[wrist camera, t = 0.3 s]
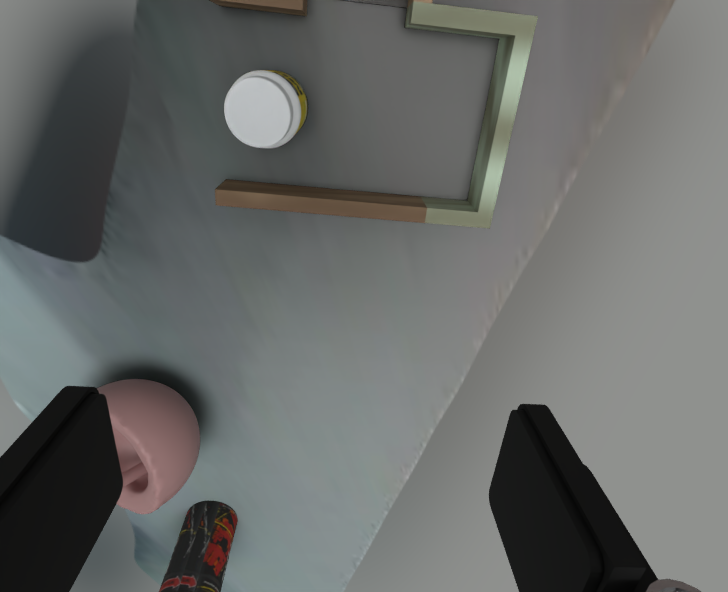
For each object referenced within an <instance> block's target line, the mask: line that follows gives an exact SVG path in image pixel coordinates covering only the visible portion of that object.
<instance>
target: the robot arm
mask: <svg viewBox="0 0 728 592" xmlns="http://www.w3.org/2000/svg"><path fill="white" fill-rule="evenodd" d="M122 488H123V477H122V472H121V468H120V463H119V458H118V453H117V448H116V443H115V438H114V433H113V428H112V423H111V419H110V414H109V409H108V404H107V399H106V396H105V395H104V394H99V391H98V390H97V388H95V387H81V386H67V387H64V388H63V389H62V390H61V391H60V392H59V393H58V394H57V395H56V397H55V398H54V399H53V400H52V401H51V402H50V403H49V404H48V405H47V407H46V408H45V409H44V410H43V411H42V412H41V413H40V414H39V415H38V417H37V418H36V419H35V420H34V421H33V422H32V423H31V424H30V425H29V426H28V428H27V429H26V430H25V431H24V432H23V433H22V434H21V435H20V436H19V438H18V439H17V440H16V441H15V442H14V443H13V444H12V445H11V446H10V448H9V449H8V450H7V451H6V452H5V453H4V454H3V455H2V456H1V457H0V592H69V591H70V589H71V587H72V585H73V584H74V582H75V580H76V578H77V576H78V574H79V573H80V571H81V569H82V567H83V565H84V563H85V561H86V559H87V558H88V556H89V554H90V552H91V550H92V548H93V546H94V544H95V543H96V541H97V539H98V537H99V535H100V533H101V531H102V530H103V528H104V526H105V524H106V522H107V520H108V518H109V517H110V515H111V513H112V511H113V509H114V507H115V505H116V503H117V502H118V500H119V498H120V495H121V492H122ZM489 501H490V506H491V509H492V512H493V515H494V518H495V521H496V524H497V527H498V530H499V533H500V536H501V539H502V542H503V545H504V548H505V551H506V554H507V557H508V560H509V563H510V566H511V569H512V572H513V574H514V577H515V581H516V583H517V586H518V589H519V592H701V591H700V590H698V589H697V588H695V587H692V586H690V585H688V584H686V583H684V582H681V581H676V580H671V579H661V580H658V578H657V577H656V575H655V574H654V572H653V570H652V569H651V568H650V566H649V564H648V562H647V561H646V559H645V558H644V556H643V555H642V553H641V551H640V550H639V548H638V546H637V545H636V543H635V542H634V540H633V538H632V537H631V535H630V533H629V532H628V530H627V529H626V527H625V525H624V524H623V522H622V521H621V519H620V518H619V516H618V514H617V513H616V511H615V509H614V508H613V506H612V505H611V503H610V501H609V500H608V498H607V496H606V495H605V493H604V492H603V490H602V489H601V487H600V485H599V484H598V482H597V480H596V479H595V477H594V476H593V474H592V472H591V471H590V470H589V469H588V467H587V466H585V465H584V464H583V463H582V462H581V460H580V458H579V457H578V455H577V453H576V452H575V450H574V449H573V447H572V445H571V444H570V442H569V440H568V439H567V437H566V435H565V434H564V432H563V431H562V429H561V427H560V426H559V424H558V423H557V421H556V419H555V418H554V416H553V414H552V413H551V411H550V409H549V408H548V407H547V406H546V405H536V404H520V406H519V407H518V409H517V410H512V411H511V413H510V416H509V420H508V424H507V427H506V431H505V435H504V438H503V442H502V446H501V449H500V454H499V457H498V460H497V464H496V468H495V472H494V475H493V478H492V482H491V486H490V490H489Z"/></svg>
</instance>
